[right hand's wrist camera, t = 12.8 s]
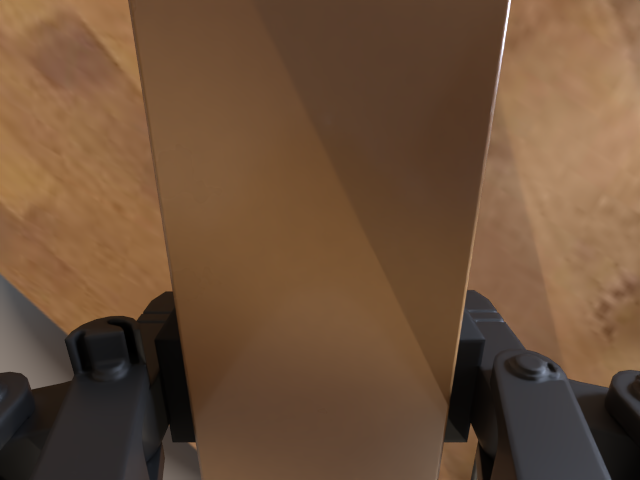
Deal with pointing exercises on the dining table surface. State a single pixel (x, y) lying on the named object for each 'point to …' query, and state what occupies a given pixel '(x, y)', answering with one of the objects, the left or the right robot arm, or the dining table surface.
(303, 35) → the post
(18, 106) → the dining table surface
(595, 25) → the dining table surface
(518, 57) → the dining table surface
